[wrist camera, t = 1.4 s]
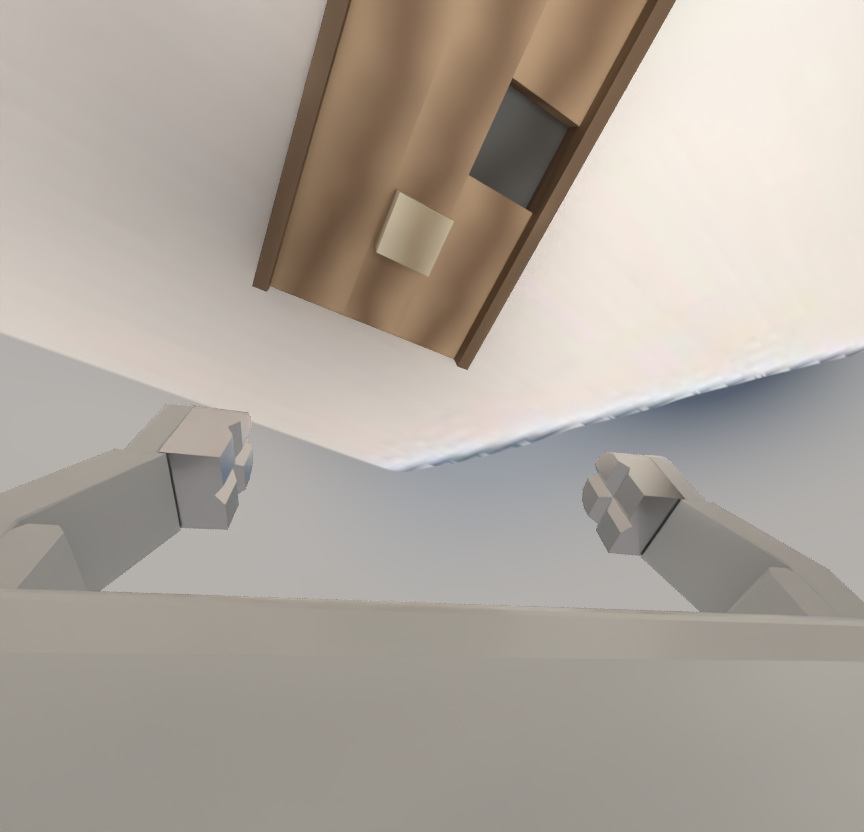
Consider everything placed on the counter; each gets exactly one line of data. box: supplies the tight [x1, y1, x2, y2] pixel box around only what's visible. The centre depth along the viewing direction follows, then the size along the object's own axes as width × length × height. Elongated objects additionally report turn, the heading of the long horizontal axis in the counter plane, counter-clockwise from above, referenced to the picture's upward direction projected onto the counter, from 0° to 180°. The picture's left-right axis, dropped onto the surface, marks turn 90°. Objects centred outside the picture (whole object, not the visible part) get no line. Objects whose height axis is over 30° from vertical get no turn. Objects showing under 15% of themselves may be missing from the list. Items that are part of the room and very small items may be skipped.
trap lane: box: [252, 0, 676, 370], centre depth 26 cm, size 18×37×4 cm, turn 154°
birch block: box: [375, 189, 454, 277], centre depth 29 cm, size 4×4×3 cm
